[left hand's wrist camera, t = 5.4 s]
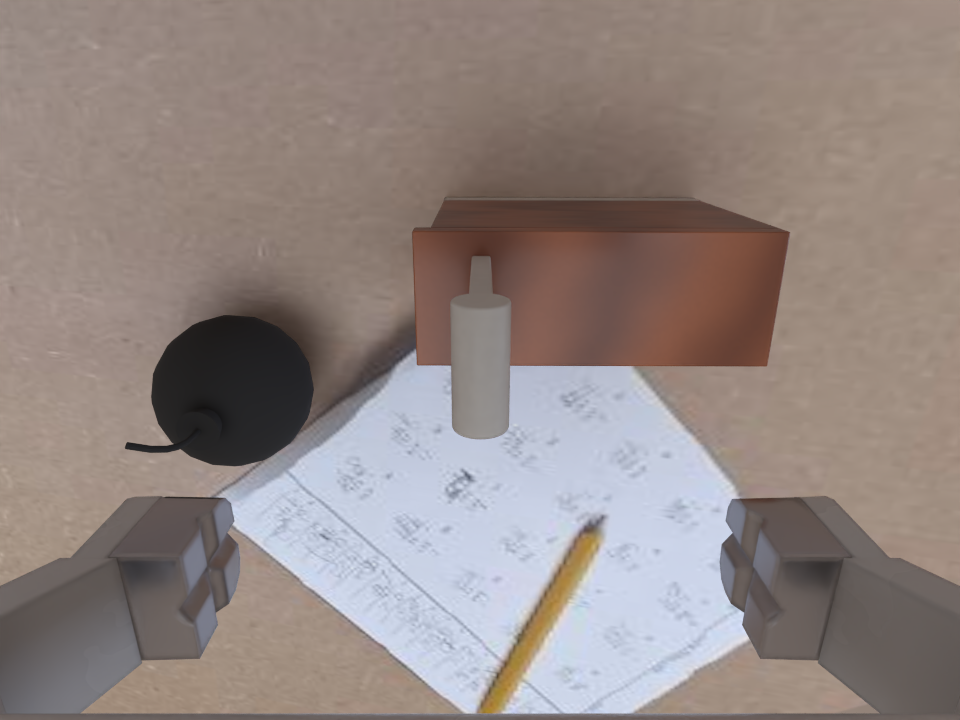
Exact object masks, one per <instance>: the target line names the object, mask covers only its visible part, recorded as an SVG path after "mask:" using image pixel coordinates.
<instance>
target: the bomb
mask: <svg viewBox="0 0 960 720" xmlns="http://www.w3.org/2000/svg"><path fill="white" fill-rule="evenodd" d="M313 391H314V388H313V382H312V377H311V372H310V367H309V363H308V361H307V359H306V358H305V356H304V354H303V353H302V351H301V350H300V348H299V346H298V345H297V343H296V342H295V341H294V340H293V339H291V338H290V337H289V336H288V335H287V334H285V333H284V332H283V331H282V330H281V329H280V328H278V327H277V326H274V325H272V324H270V323H267V322H265V321H262V320H260V319H258V318H255V317H244V316H231V315H223V316H220V317H216V318H213V319H209V320H205V321H202V322H199V323H196V324H194V325H192V326H191V327H190V328H188V329H187V330H186V331H184V332H183V333H182V334H180V335H179V336H178V337H177V338H175V339H174V340H173V341H172V342H171V343H170V344H169V345H168V346H167V348H166V349H165V351H164V353H163V355H162V357H161V359H160V360H159V362H158V364H157V366H156V368H155V371H154V373H153V383H152V395H151V398H152V405H153V408H154V411H155V414H156V418H157V421H158V424H159V425H160V427H161V428H162V430H163V431H164V432H165V434H166V435H167V436H168V438H169V439H170V441H171V442H172V443H173V445H168V446H148V445H142V444H136V443H129V442H127V443H126V446H125V449H129V450H136V451H142V452H149V453H164V452H171V451H175V450H179V449H181V450H183V451H184V452H185V453H187V454H188V455H189V456H191V457H193V458H196V459H199V460H201V461H204V462H207V463H209V464H212V465H224V466H242V465H246V464H250V463H254V462H258V461H262V460H265V459H267V458H269V457H271V456H272V455H274V454H275V453H277V452H278V451H279V450H281V449H282V448H284V447H285V446H287V445H288V444H290V443H291V441H292V440H293V439H294V438H295V437H296V435H297V434H298V432H299V431H300V429H301V428H302V426H303V425H304V423H305V421H306V420H307V418H308V415H309V413H310V408H311V402H312V397H313Z"/></svg>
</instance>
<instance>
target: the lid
mask: <svg viewBox="0 0 960 720" xmlns="http://www.w3.org/2000/svg"><path fill="white" fill-rule="evenodd" d="M789 237H790V232H788V231H785V230H782V229H764V228H414V230H413V232H412V239H413V268H414V296H415V324H416V352H417V365H451V377H452V427H453V429H454V431H455V432H456V433H457V434H459V435H461V436H463V437H467V438H471V439H490V438H495V437H498V436H500V435H502V434H504V433H505V432H506V431H507V429H508V427H509V393H510V366H767V363H768V358H769V352H770V346H771V340H772V334H773V329H774V323H775V317H776V311H777V306H778V300H779V294H780V288H781V283H782V277H783V271H784V265H785V260H786V254H787V248H788V242H789Z"/></svg>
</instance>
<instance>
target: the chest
mask: <svg viewBox="0 0 960 720" xmlns="http://www.w3.org/2000/svg"><path fill="white" fill-rule="evenodd" d="M431 228H764V229H779V228H776V227H774V226H771V225H768V224H765V223H762V222H759V221H756V220H753V219H751V218H748V217H745V216H742V215H739V214H736V213H733V212H730V211H728V210H725V209H722V208H719V207H716V206H713V205H710V204H707V203H705V202H702V201H700V200H698V199H695V198H480V197H445V199H444V202H443V204H442V206H441V208H440V210H439V212H438V214H437V216H436V218H435V220H434V222H433V224H432V226H431Z"/></svg>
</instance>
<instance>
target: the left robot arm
mask: <svg viewBox="0 0 960 720" xmlns="http://www.w3.org/2000/svg"><path fill="white" fill-rule="evenodd" d="M233 522H234V517H233V512H232V507H231V503H230V502H229V501H228V500H227V499H226V498H205V497H162V496H150V497H132V498H128V499H126V500H125V501H124V502H123V503H122V505H121V506H120V507H119V508H118V509H117V510H116V511H115V512H114V513H113V514H112V515H111V516H110V517H109V518H108V519H107V520H106V521H105V522H104V523H103V524H102V525H101V526H100V528H99V529H98V530H97V531H96V532H95V533H94V534H93V535H92V536H91V537H90V538H89V539H88V540H87V541H86V542H85V543H84V544H83V545H82V546H81V547H80V548H79V549H78V551H77V552H76V553H75V554H74V555H73V556H72V557H71V558H59V559H57V560H55V561H53V562H51V563H48V564H46V565H44V566H42V567H40V568H38V569H36V570H33V571H31V572H29V573H27V574H25V575H23V576H21V577H19V578H16V579H14V580H12V581H10V582H8V583H6V584H4V585H1V586H0V720H960V586H958V585H956V584H954V583H952V582H950V581H948V580H946V579H944V578H941V577H939V576H937V575H935V574H933V573H931V572H929V571H926V570H924V569H922V568H920V567H918V566H916V565H914V564H912V563H909V562H907V561H905V560H903V559H901V558H889V557H888V556H887V555H886V554H885V553H884V551H883V550H882V549H881V548H880V547H879V546H878V545H877V544H876V543H875V542H874V541H873V540H872V539H871V538H870V537H869V536H868V535H867V534H866V533H865V532H864V531H863V530H862V528H861V527H860V526H859V525H858V524H857V523H856V522H855V521H854V520H853V519H852V518H851V517H850V516H849V515H848V514H847V513H846V512H845V511H844V510H843V509H842V508H841V506H840V505H839V504H838V503H837V502H836V501H835V500H834V499H831V498H829V497H827V496H814V497H794V498H751V499H732V500H731V502H730V504H729V506H728V510H727V516H726V522H727V524H728V526H729V527H730V529H731V531H732V532H733V533H732V534H731V535H730V536H729V537H728V538H727V539H726V540H725V542H724V543H723V544H722V547H721V555H720V571H721V580H722V583H723V586H724V590H725V593H726V595H727V597H728V599H729V601H730V603H731V604H732V605H734V606H735V607H737V608H738V609H740V610H741V611H743V612H744V618H743V623H742V625H743V627H744V629H745V631H746V633H747V635H748V637H749V639H750V640H751V642H752V644H753V646H754V648H755V650H756V652H757V653H758V655H759V657H760V659H788V660H819V661H818V663H819V664H820V665H821V666H822V667H824V668H825V669H826V670H827V671H828V672H830V673H831V674H832V675H833V676H835V677H836V678H837V679H838V680H840V681H841V682H842V683H843V684H845V685H846V686H847V687H848V688H849V689H851V690H852V691H853V692H854V693H856V694H857V695H858V696H859V697H861V698H862V699H863V700H864V701H865V702H867V703H868V704H869V705H871V706H872V707H873V708H874V709H875V710H877V711H878V712H879V713H880V714H80V713H81V712H82V711H84V710H85V709H86V708H87V707H89V706H90V705H91V704H92V703H93V702H95V701H96V700H97V699H98V698H100V697H101V696H102V695H103V694H105V693H106V692H107V691H108V690H110V689H111V688H112V687H113V686H114V685H116V684H117V683H118V682H119V681H121V680H122V679H123V678H124V677H126V676H127V675H128V674H129V673H131V672H132V671H133V670H134V669H136V668H137V667H138V666H139V665H140V664H142V661H141V660H171V659H200V657H201V656H202V654H203V652H204V650H205V648H206V646H207V644H208V642H209V640H210V639H211V637H212V635H213V633H214V631H215V629H216V627H217V625H218V623H217V617H216V612H217V611H219V610H220V609H222V608H223V607H225V606H226V605H228V604H229V603H230V601H231V598H232V596H233V594H234V592H235V590H236V587H237V582H238V578H239V573H240V553H239V547H238V544H237V543H236V542H235V540H234V539H233V538H232V537H231V536H230V535H229V534H228V533H227V532H228V531H229V529H230V527H231V526H232V524H233Z"/></svg>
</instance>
